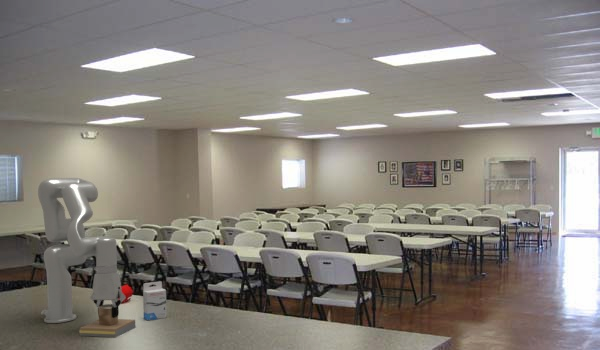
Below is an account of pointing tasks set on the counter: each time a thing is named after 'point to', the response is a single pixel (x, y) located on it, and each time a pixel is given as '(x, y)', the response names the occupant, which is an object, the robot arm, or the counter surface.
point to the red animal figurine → (126, 292)
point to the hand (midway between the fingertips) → (108, 316)
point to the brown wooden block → (106, 315)
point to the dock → (107, 328)
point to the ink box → (154, 301)
